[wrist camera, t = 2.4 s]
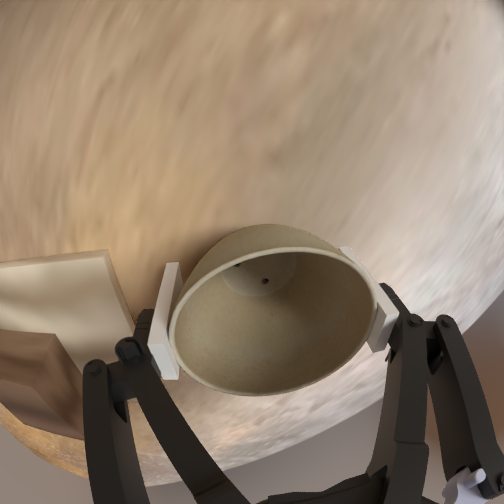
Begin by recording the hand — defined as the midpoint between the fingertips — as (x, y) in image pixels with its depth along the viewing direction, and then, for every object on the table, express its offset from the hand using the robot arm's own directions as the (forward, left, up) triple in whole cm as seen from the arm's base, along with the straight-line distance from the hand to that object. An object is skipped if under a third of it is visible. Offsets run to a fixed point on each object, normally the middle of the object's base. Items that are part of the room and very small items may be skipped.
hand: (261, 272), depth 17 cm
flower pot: (0, 0, -2) cm, 2 cm away
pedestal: (+10, -23, 0) cm, 25 cm away
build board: (+7, -19, -1) cm, 20 cm away
